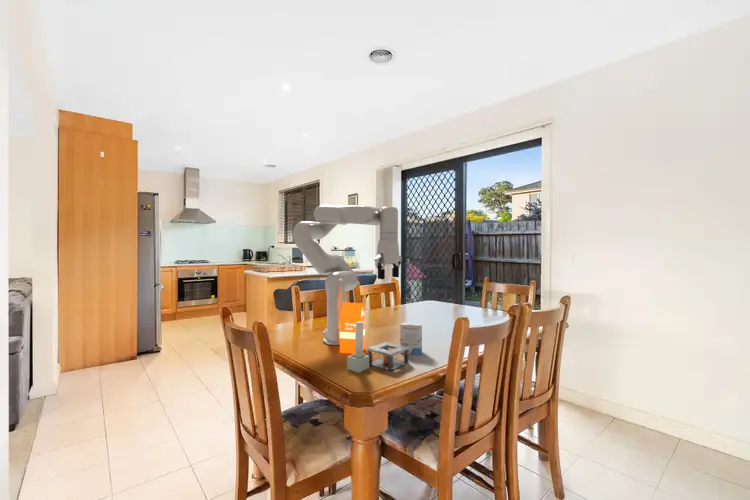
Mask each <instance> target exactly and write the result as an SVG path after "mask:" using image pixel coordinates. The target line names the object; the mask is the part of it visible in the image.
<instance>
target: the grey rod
mask: <svg viewBox="0 0 750 500" xmlns="http://www.w3.org/2000/svg"><path fill="white" fill-rule="evenodd" d="M363 324H364V322H356V330H355V358H356V359H361V358H363V354H364V350H363Z"/></svg>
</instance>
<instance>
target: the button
mask: <svg viewBox="0 0 750 500" xmlns="http://www.w3.org/2000/svg"><path fill="white" fill-rule="evenodd" d="M382 355H383V354H382ZM382 357H383V363H385V364H388V356H387V355H383V356H382Z"/></svg>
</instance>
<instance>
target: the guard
mask: <svg viewBox="0 0 750 500" xmlns="http://www.w3.org/2000/svg"><path fill="white" fill-rule="evenodd" d="M366 351H367V352H366V353H367V354H366V355H368V356H369V366H371V367H375V368H379V369H381V370H385V371H389V372H392V371H395V370H397V369H399V368H401V367H403V366H406V365H408V364H409V361H410V359H409V356H410V354H409V347H406V346H401V345H400V344H396V343H392V342H388V341H384V342H382V343H377V344H375V345H372V346H370V347H367V348H366ZM401 352H404V353H403V360H401V359H398V358H394V356H396V355H398V354H402V353H401ZM373 353H376V354H380V355H387V356H388V364H385V363H383V356H382V357H379V358H377V359H375V360H373Z"/></svg>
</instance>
